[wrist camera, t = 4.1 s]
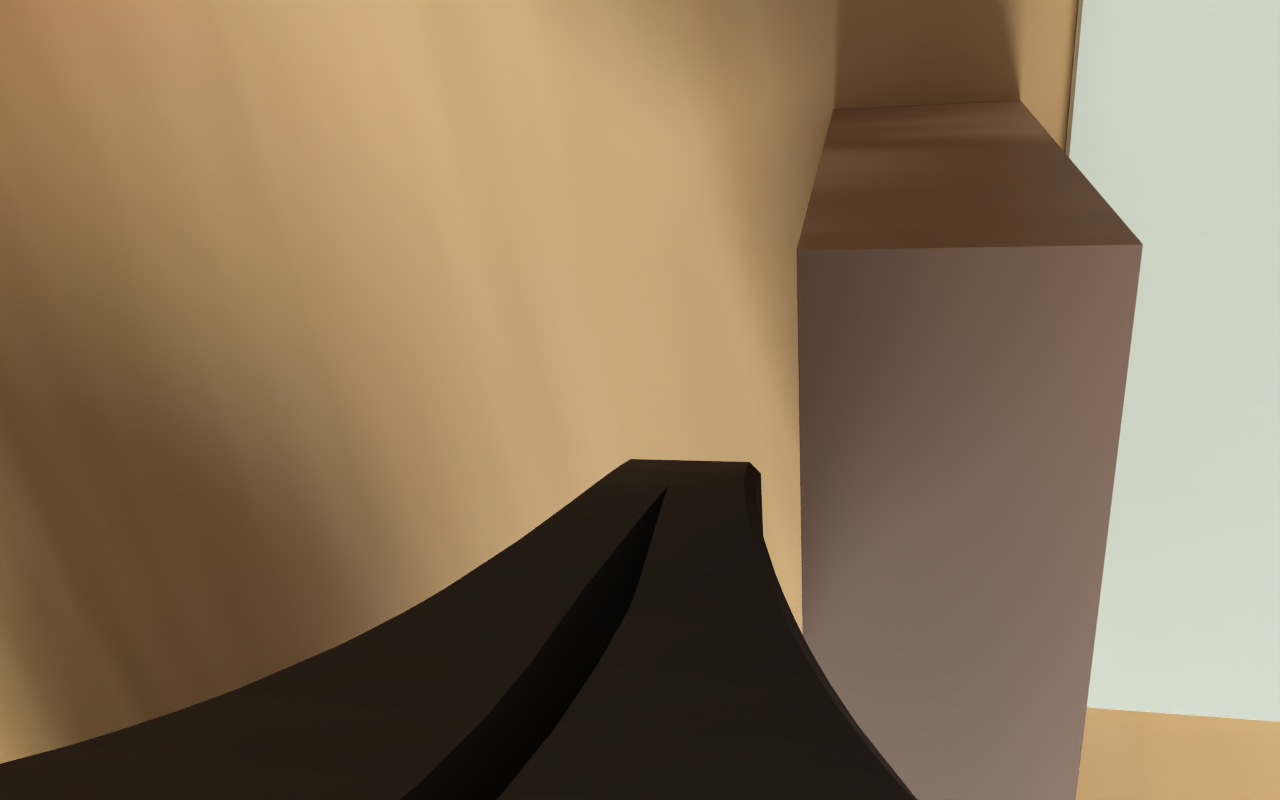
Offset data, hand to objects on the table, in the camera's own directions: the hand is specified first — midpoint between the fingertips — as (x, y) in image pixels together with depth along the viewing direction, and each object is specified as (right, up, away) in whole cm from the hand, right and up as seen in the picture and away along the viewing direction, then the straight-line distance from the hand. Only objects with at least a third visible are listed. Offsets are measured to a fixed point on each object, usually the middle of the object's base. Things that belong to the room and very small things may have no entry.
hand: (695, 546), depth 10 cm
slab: (+3, +2, +5) cm, 6 cm away
